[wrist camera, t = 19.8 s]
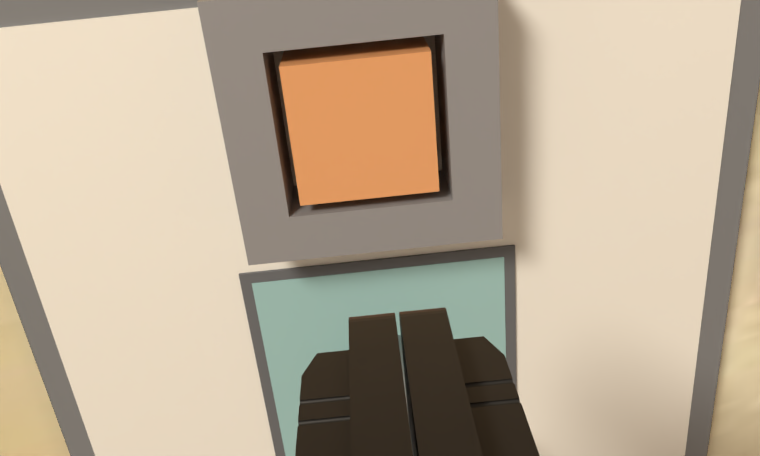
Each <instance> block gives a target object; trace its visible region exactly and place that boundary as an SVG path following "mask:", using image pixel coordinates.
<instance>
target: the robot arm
mask: <svg viewBox="0 0 760 456" xmlns="http://www.w3.org/2000/svg"><path fill="white" fill-rule="evenodd" d="M399 321H400V332H401V344H402V355H403V366H404V377H405V387H404V380H403V372H402V364H401V356H400V348H399V340H398V332H397V325H396V317H395V313H386V314H376V315H366V316H356V317H349V320H348V323H349V350H343V351H333V352H324V353H317V354H316V355H315V357H314V358H313V360H312V361H311V363H310V364H309V366H308V367H307V368H306V370H305V371H304V373H303V374H302V377H301V389H300V405H299V414H298V426H297V439H296V451H295V456H540V455H539V453H538V450H537V447H536V444H535V441H534V438H533V435H532V432H531V430H530V427H529V424H528V421H527V418H526V415H525V412H524V410H523V407H522V404H521V403H520V399H519V395H518V392H517V390H516V387H515V384H514V383H513V378H512V375H511V372H510V369H509V367H508V364H507V361H506V358H505V355H504V354H503V353H502V352H501V351H500V350H498V349H497V348H496V347H495V346H494V345H493V344H492V343H491V342H490V341H488V340H487V339H486V338H485V337H484V336H480V337H470V338H460V339H454V338H453V334H452V330H451V326H450V322H449V318H448V314H447V310H446V308H445V307H443V308H433V309H424V310H414V311H404V312H399ZM405 389H406V395H405ZM406 399H407V403H406ZM407 409H408V411H407Z"/></svg>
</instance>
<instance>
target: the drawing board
mask: <svg viewBox="0 0 760 456" xmlns="http://www.w3.org/2000/svg"><path fill="white" fill-rule="evenodd" d="M421 36H423V37H424V39H425V41H426V42H427V44H428V46H429V48H430V50H431V59H432V76H433V92H434V109H435V125H436V142H437V158H438V175H439V191H438V192H428V193H419V194H409V195H399V196H390V197H380V198H371V199H361V200H352V201H342V202H332V203H323V204H313V205H304V206H300V201H299V195H298V188H297V182H296V175H295V169H294V162H293V156H292V149H291V143H290V136H289V130H288V123H287V117H286V110H285V104H284V97H283V91H282V84H281V78H280V71H279V65H280V62H281V59H282V55H283V52H284V51H285V50H295V49H305V48H314V47H324V46H334V45H344V44H353V43H363V42H373V41H382V40H392V39H402V38H411V37H421ZM759 82H760V0H0V266H1V268H2V271H3V274H4V277H5V279H6V282H7V285H8V287H9V290H10V293H11V296H12V298H13V301H14V304H15V306H16V309H17V312H18V314H19V317H20V320H21V323H22V325H23V328H24V331H25V333H26V336H27V339H28V342H29V344H30V347H31V350H32V352H33V355H34V358H35V361H36V363H37V366H38V369H39V371H40V374H41V377H42V379H43V382H44V385H45V388H46V390H47V393H48V396H49V398H50V401H51V404H52V407H53V409H54V412H55V415H56V417H57V420H58V423H59V426H60V428H61V431H62V434H63V436H64V439H65V442H66V444H67V447H68V450H69V453H70V455H71V456H295V451H296V439H297V426H298V414H299V405H300V389H301V377H302V374H303V373H304V371H305V370H306V368H307V367H308V366H309V364H310V363H311V361H312V360H313V358H314V357H315V355H316V354H317V353H324V352H333V351H343V350H349V323H348V320H349V317H356V316H366V315H376V314H386V313H395V317H396V325H397V332H398V335H401V332H400V321H399V312H404V311H414V310H424V309H433V308H443V307H445V308H446V310H447V314H448V318H449V322H450V326H451V330H452V334H453V338H454V339H460V338H470V337H480V336H484V337H485V338H486V339H487V340H488V341H490V342H491V343H492V344H493V345H494V346H495V347H496V348H497V349H498V350H500V351H501V352H502V353H503V354H504V355H505V358H506V361H507V364H508V367H509V369H510V372H511V375H512V378H513V383H514V384H515V387H516V390H517V392H518V395H519V399H520V403H521V404H522V407H523V410H524V412H525V415H526V418H527V421H528V424H529V427H530V430H531V432H532V435H533V438H534V441H535V444H536V447H537V450H538V453H539V455H540V456H707V451H708V444H709V437H710V429H711V422H712V415H713V408H714V401H715V394H716V387H717V380H718V373H719V366H720V359H721V352H722V344H723V337H724V330H725V323H726V316H727V309H728V302H729V295H730V288H731V281H732V274H733V267H734V259H735V252H736V245H737V238H738V231H739V224H740V217H741V210H742V203H743V196H744V189H745V181H746V174H747V167H748V160H749V153H750V146H751V139H752V132H753V125H754V118H755V111H756V104H757V96H758V89H759Z"/></svg>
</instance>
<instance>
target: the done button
mask: <svg viewBox="0 0 760 456" xmlns="http://www.w3.org/2000/svg"><path fill="white" fill-rule="evenodd" d="M279 71H280V78H281V84H282V91H283V97H284V104H285V110H286V117H287V123H288V130H289V136H290V143H291V149H292V156H293V162H294V169H295V175H296V182H297V188H298V195H299V201H300V206H304V205H313V204H323V203H332V202H342V201H352V200H361V199H371V198H380V197H390V196H399V195H409V194H419V193H428V192H438V191H439V175H438V158H437V142H436V125H435V109H434V92H433V76H432V59H431V50H430V48H429V46H428V44H427V42H426V41H425V39H424V37H423V36H421V37H411V38H402V39H392V40H382V41H373V42H363V43H353V44H344V45H334V46H324V47H314V48H305V49H295V50H285V51H284V52H283V55H282V59H281V62H280V65H279Z"/></svg>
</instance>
